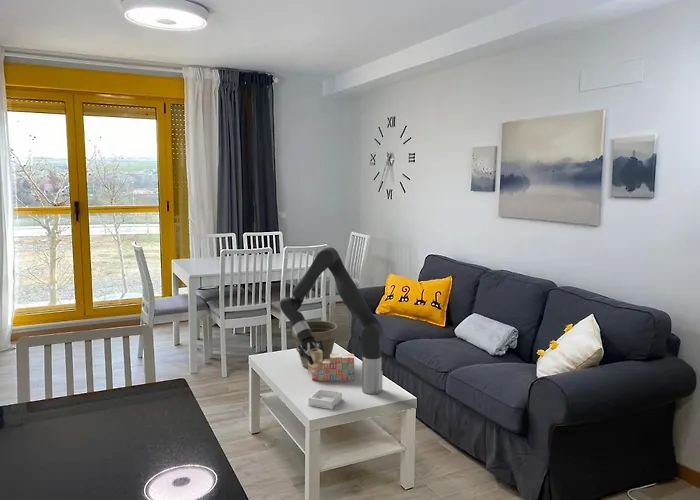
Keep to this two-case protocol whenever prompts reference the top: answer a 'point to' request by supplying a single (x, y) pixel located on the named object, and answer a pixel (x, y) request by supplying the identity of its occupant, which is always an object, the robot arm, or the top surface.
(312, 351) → the oak block
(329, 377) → the stack of blocks
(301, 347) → the robot arm
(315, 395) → the white tray
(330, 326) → the plant pot
